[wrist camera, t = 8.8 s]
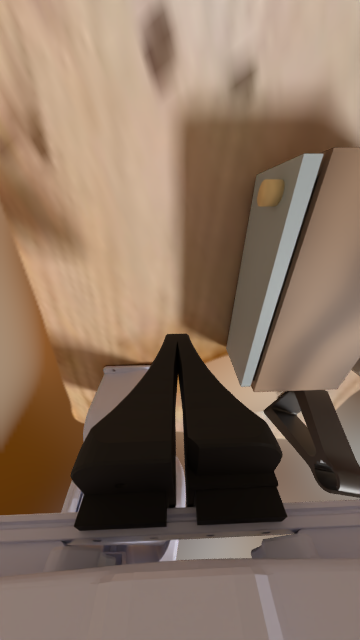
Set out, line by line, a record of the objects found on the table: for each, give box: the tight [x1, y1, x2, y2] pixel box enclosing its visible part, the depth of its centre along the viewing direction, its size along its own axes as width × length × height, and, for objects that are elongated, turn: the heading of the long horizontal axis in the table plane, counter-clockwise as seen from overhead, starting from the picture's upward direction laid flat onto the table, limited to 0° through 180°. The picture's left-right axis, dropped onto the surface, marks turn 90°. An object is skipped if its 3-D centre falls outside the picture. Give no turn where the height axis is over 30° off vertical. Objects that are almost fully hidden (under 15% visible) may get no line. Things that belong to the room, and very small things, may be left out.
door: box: [226, 154, 323, 387], centre depth 16 cm, size 2×18×6 cm, turn 0°
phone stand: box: [264, 390, 360, 498], centre depth 26 cm, size 9×6×12 cm, turn 154°
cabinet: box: [251, 147, 360, 392], centre depth 17 cm, size 9×19×6 cm, turn 1°
